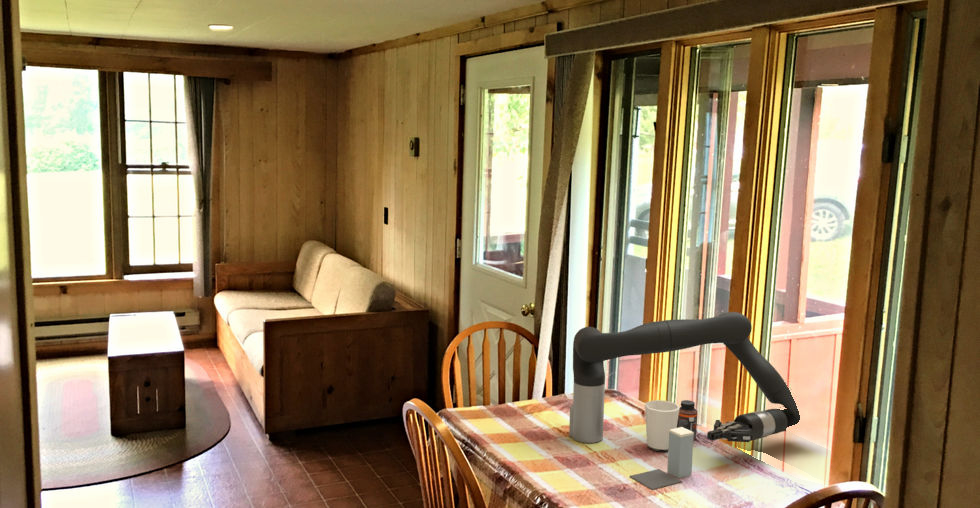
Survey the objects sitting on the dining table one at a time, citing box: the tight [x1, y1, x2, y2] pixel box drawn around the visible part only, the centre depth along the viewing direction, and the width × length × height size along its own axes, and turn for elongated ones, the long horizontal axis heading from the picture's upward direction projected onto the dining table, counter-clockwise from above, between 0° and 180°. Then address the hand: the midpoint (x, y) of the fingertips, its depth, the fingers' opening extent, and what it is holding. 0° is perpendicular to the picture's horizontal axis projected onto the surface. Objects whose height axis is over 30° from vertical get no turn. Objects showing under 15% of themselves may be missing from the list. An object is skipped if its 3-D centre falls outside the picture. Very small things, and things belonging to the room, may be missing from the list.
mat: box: [629, 468, 683, 491], centre depth 214 cm, size 9×10×1 cm
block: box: [666, 427, 694, 479], centre depth 218 cm, size 4×4×12 cm
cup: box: [644, 399, 680, 453], centre depth 236 cm, size 10×10×13 cm
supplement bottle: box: [677, 399, 698, 441], centre depth 243 cm, size 6×6×11 cm
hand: (709, 436), depth 222 cm, fingers closed
